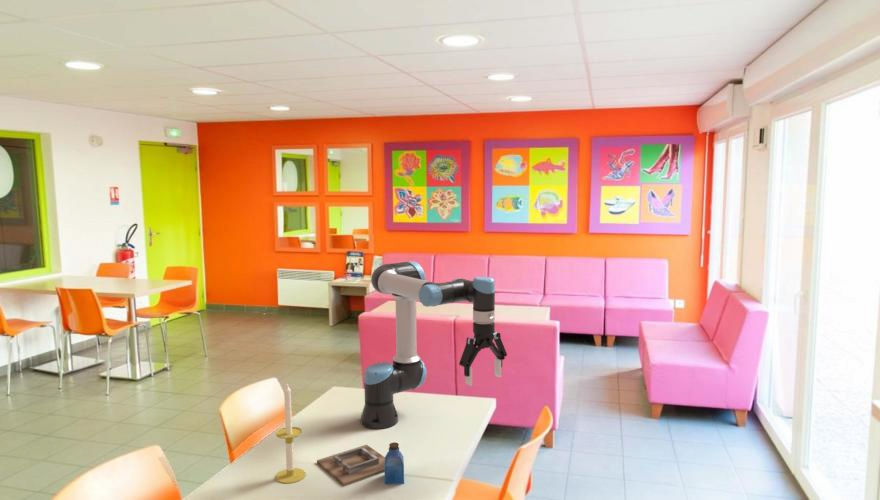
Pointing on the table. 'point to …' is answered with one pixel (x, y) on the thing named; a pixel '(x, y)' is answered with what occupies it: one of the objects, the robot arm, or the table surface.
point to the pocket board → (354, 464)
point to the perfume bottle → (394, 465)
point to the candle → (289, 444)
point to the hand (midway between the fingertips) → (483, 380)
